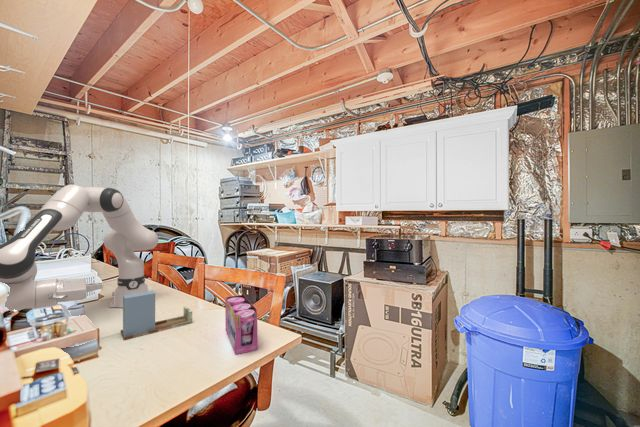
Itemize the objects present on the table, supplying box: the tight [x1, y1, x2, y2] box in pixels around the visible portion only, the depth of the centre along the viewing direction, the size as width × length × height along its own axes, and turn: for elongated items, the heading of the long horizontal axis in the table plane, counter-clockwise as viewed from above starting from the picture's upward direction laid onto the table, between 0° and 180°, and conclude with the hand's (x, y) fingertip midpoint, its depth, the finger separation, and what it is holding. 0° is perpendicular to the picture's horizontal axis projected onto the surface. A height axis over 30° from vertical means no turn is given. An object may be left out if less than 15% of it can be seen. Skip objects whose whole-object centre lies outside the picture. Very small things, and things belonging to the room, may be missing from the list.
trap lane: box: [120, 306, 193, 341], centre depth 112 cm, size 9×24×6 cm, turn 132°
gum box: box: [224, 294, 258, 355], centre depth 103 cm, size 24×8×14 cm, turn 27°
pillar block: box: [122, 290, 156, 337], centre depth 108 cm, size 5×10×15 cm, turn 132°
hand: (102, 285), depth 100 cm, fingers closed
